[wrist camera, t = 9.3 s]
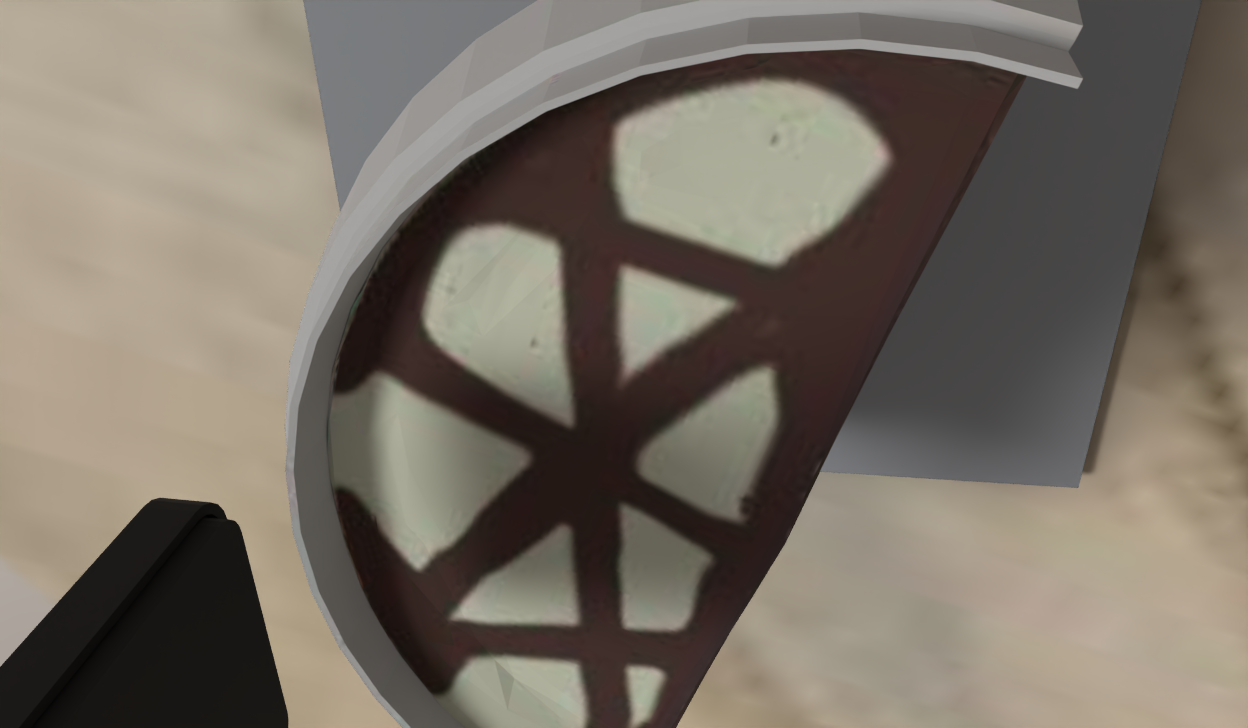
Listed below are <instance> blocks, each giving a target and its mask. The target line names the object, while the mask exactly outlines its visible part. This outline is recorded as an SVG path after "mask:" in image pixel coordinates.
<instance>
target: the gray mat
mask: <svg viewBox="0 0 1248 728" xmlns="http://www.w3.org/2000/svg"><path fill="white" fill-rule="evenodd" d="M303 1H304V7H305V13H306V18H307V24H308V30H309V36H310V41H311V47H312V53H313V58H314V64H315V70H316V76H317V81H318V87H319V93H320V98H321V104H322V110H323V116H324V121H325V127H326V133H327V138H328V144H329V150H330V156H331V161H332V167H333V173H334V178H335V184H336V190H337V196H338V201H339V207H340V212H341V210H342V207H343V205H344V203H345V201H346V199H347V197H348V195H349V193H350V191H351V189H352V187H353V185H354V183H355V181H356V179H357V177H358V175H359V173H360V171H361V169H362V167H363V165H364V163H365V161H366V159H367V158H368V157H369V155H370V154H371V153H372V151H373V150H374V149H375V147H376V146H377V145H378V143H379V142H380V141H381V139H382V138H383V137H384V135H385V134H386V133H387V131H388V130H389V129H390V127H391V126H392V125H393V123H394V122H395V121H396V119H397V118H398V117H399V115H400V114H401V113H402V111H403V110H404V109H405V107H406V106H407V105H408V103H409V102H410V101H411V99H412V98H413V97H414V96H415V95H416V94H417V93H418V92H419V91H420V90H421V89H423V88H424V87H425V86H426V85H427V84H428V83H429V82H430V81H431V80H432V79H433V78H435V77H436V76H437V75H438V74H439V73H440V72H441V71H442V70H443V69H444V68H445V67H447V66H448V65H449V64H450V63H451V62H452V61H453V60H454V59H455V58H456V57H457V56H459V55H460V54H461V53H462V52H463V51H464V50H465V49H466V48H467V47H468V46H469V45H471V44H472V43H473V42H474V41H475V40H476V39H477V38H479V37H480V36H482V35H483V34H485V33H486V32H488V31H490V30H491V29H493V28H494V27H496V26H497V25H499V24H501V23H502V22H504V21H505V20H507V19H509V18H510V17H512V16H513V15H515V14H516V13H518V12H520V11H521V10H523V9H524V8H526V7H527V6H529V5H531V4H532V3H534V2H535V1H537V0H303ZM1077 1H1078V5H1079V10H1080V14H1081V18H1082V23H1083V27H1082V29H1081V31H1080V33H1079V34H1078V36H1077V38H1076V40H1075V42H1074V43H1073V45H1072V46H1071V48H1070V50H1069V51H1068V52H1069V54H1070V56H1071V58H1072V59H1073V61H1074V63H1075V65H1076V67H1077V68H1078V70H1079V72H1080V74H1081V76H1082V77H1083V80H1082V82H1081V83H1080V85H1079V87H1078V89H1076V88H1072V87H1069V86H1065V85H1061V84H1057V83H1053V82H1050V81H1046V80H1042V79H1038V78H1035V77H1031V76H1027V77H1026V79H1025V81H1024V83H1023V85H1022V86H1021V88H1020V90H1019V92H1018V94H1017V96H1016V98H1015V100H1014V102H1013V103H1012V105H1011V107H1010V109H1009V111H1008V113H1007V115H1006V117H1005V119H1004V120H1003V122H1002V124H1001V126H1000V128H999V130H998V132H997V134H996V136H995V137H994V139H993V141H992V143H991V145H990V147H989V149H988V151H987V152H986V154H985V156H984V158H983V160H982V162H981V164H980V166H979V168H978V169H977V171H976V173H975V175H974V177H973V179H972V181H971V183H970V185H969V186H968V188H967V190H966V192H965V194H964V196H963V198H962V200H961V201H960V203H959V205H958V207H957V209H956V211H955V213H954V214H953V216H952V218H951V220H950V222H949V224H948V226H947V228H946V229H945V231H944V233H943V235H942V237H941V239H940V241H939V242H938V244H937V246H936V248H935V250H934V252H933V254H932V256H931V257H930V259H929V261H928V263H927V265H926V267H925V269H924V270H923V272H922V274H921V276H920V278H919V280H918V282H917V283H916V285H915V287H914V289H913V291H912V293H911V295H910V297H909V298H908V300H907V302H906V304H905V306H904V308H903V310H902V311H901V313H900V315H899V317H898V319H897V321H896V323H895V325H894V326H893V328H892V330H891V332H890V334H889V336H888V338H887V340H886V342H885V344H884V346H883V347H882V349H881V351H880V353H879V355H878V357H877V359H876V361H875V363H874V365H873V367H872V369H871V371H870V373H869V375H868V377H867V379H866V381H865V383H864V385H863V387H862V389H861V391H860V393H859V395H858V397H857V398H856V400H855V402H854V404H853V406H852V408H851V410H850V412H849V414H848V416H847V418H846V420H845V422H844V424H843V426H842V428H841V430H840V432H839V434H838V436H837V438H836V440H835V442H834V444H833V446H832V448H831V450H830V452H829V454H828V456H827V458H826V460H825V462H824V464H823V466H822V468H821V470H820V472H834V473H850V474H865V475H881V476H897V477H913V478H929V479H945V480H961V481H976V482H992V483H1008V484H1024V485H1040V486H1056V487H1072V488H1078V487H1079V483H1080V479H1081V475H1082V471H1083V467H1084V463H1085V459H1086V455H1087V451H1088V447H1089V443H1090V439H1091V435H1092V432H1093V428H1094V424H1095V420H1096V416H1097V412H1098V408H1099V404H1100V400H1101V396H1102V392H1103V388H1104V384H1105V380H1106V376H1107V372H1108V368H1109V364H1110V360H1111V356H1112V352H1113V348H1114V345H1115V341H1116V337H1117V333H1118V329H1119V325H1120V321H1121V317H1122V313H1123V309H1124V305H1125V301H1126V297H1127V293H1128V289H1129V285H1130V281H1131V277H1132V273H1133V269H1134V265H1135V261H1136V258H1137V254H1138V250H1139V246H1140V242H1141V238H1142V234H1143V230H1144V226H1145V222H1146V218H1147V214H1148V210H1149V206H1150V202H1151V198H1152V194H1153V190H1154V186H1155V182H1156V178H1157V174H1158V171H1159V167H1160V163H1161V159H1162V155H1163V151H1164V147H1165V143H1166V139H1167V135H1168V131H1169V127H1170V123H1171V119H1172V115H1173V111H1174V107H1175V103H1176V99H1177V95H1178V91H1179V87H1180V84H1181V80H1182V76H1183V72H1184V68H1185V64H1186V60H1187V56H1188V52H1189V48H1190V44H1191V40H1192V36H1193V32H1194V28H1195V24H1196V20H1197V16H1198V12H1199V8H1200V4H1201V0H1077Z"/></svg>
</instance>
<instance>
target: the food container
mask: <svg viewBox="0 0 1248 728" xmlns="http://www.w3.org/2000/svg"><path fill="white" fill-rule="evenodd" d="M1082 27H1083V23H1082V18H1081V14H1080V10H1079V5H1078V1H1077V0H537V1H535V2H534V3H532V4H531V5H529V6H527V7H526V8H524V9H523V10H521V11H520V12H518V13H516V14H515V15H513V16H512V17H510V18H509V19H507V20H505V21H504V22H502V23H501V24H499V25H497V26H496V27H494V28H493V29H491V30H490V31H488V32H486V33H485V34H483V35H482V36H480V37H479V38H477V39H476V40H475V41H474V42H473V43H472V44H471V45H469V46H468V47H467V48H466V49H465V50H464V51H463V52H462V53H461V54H460V55H459V56H457V57H456V58H455V59H454V60H453V61H452V62H451V63H450V64H449V65H448V66H447V67H445V68H444V69H443V70H442V71H441V72H440V73H439V74H438V75H437V76H436V77H435V78H433V79H432V80H431V81H430V82H429V83H428V84H427V85H426V86H425V87H424V88H423V89H421V90H420V91H419V92H418V93H417V94H416V95H415V96H414V97H413V98H412V99H411V101H410V102H409V103H408V105H407V106H406V107H405V109H404V110H403V111H402V113H401V114H400V115H399V117H398V118H397V119H396V121H395V122H394V123H393V125H392V126H391V127H390V129H389V130H388V131H387V133H386V134H385V135H384V137H383V138H382V139H381V141H380V142H379V143H378V145H377V146H376V147H375V149H374V150H373V151H372V153H371V154H370V155H369V157H368V158H367V159H366V161H365V163H364V165H363V167H362V169H361V171H360V173H359V175H358V177H357V179H356V181H355V183H354V185H353V187H352V189H351V191H350V193H349V195H348V197H347V199H346V201H345V203H344V205H343V207H342V210H341V212H340V214H339V216H338V218H337V220H336V222H335V224H334V226H333V228H332V231H331V233H330V236H329V239H328V241H327V244H326V247H325V250H324V252H323V255H322V258H321V260H320V263H319V266H318V269H317V271H316V274H315V277H314V279H313V282H312V285H311V288H310V290H309V293H308V297H307V300H306V304H305V308H304V311H303V315H302V319H301V322H300V326H299V329H298V333H297V337H296V340H295V344H294V348H293V351H292V355H291V358H290V364H289V378H288V391H287V405H286V419H285V434H286V443H287V456H286V470H285V471H286V479H287V488H288V496H289V504H290V512H291V520H292V529H293V535H294V538H295V541H296V544H297V548H298V551H299V554H300V557H301V560H302V564H303V567H304V570H305V573H306V577H307V580H308V583H309V586H310V589H311V593H312V595H313V597H314V599H315V601H316V603H317V605H318V607H319V609H320V611H321V613H322V614H323V616H324V618H325V620H326V622H327V624H328V626H329V628H330V630H331V632H332V634H333V636H334V638H335V640H336V642H337V644H338V646H339V648H340V650H341V651H342V652H343V654H344V655H345V657H346V658H347V659H348V661H349V662H350V664H351V665H352V666H353V668H354V669H355V671H356V672H357V674H358V675H359V676H360V678H361V679H362V681H363V682H364V683H365V685H366V686H367V688H368V689H369V690H370V692H371V693H372V695H373V696H374V697H375V699H376V700H377V701H378V702H379V703H380V704H381V705H382V706H383V707H384V708H385V709H386V710H387V712H388V713H389V714H390V715H391V716H392V717H393V718H394V719H395V720H396V721H397V722H398V723H399V724H400V725H401V726H402V728H676V727H677V725H678V723H679V721H680V719H681V718H682V716H683V714H684V712H685V710H686V709H687V707H688V705H689V703H690V701H691V700H692V698H693V696H694V694H695V693H696V691H697V689H698V687H699V685H700V684H701V682H702V680H703V678H704V676H705V675H706V673H707V671H708V669H709V668H710V666H711V664H712V663H713V661H714V659H715V657H716V656H717V654H718V652H719V651H720V649H721V647H722V645H723V644H724V642H725V640H726V638H727V637H728V635H729V633H730V632H731V630H732V628H733V627H734V625H735V623H736V622H737V620H738V619H739V617H740V616H741V614H742V613H743V611H744V609H745V608H746V606H747V605H748V603H749V602H750V600H751V598H752V597H753V595H754V593H755V592H756V590H757V589H758V587H759V585H760V584H761V582H762V580H763V579H764V577H765V576H766V574H767V572H768V571H769V569H770V567H771V566H772V564H773V562H774V561H775V559H776V558H777V556H778V554H779V553H780V551H781V549H782V548H783V546H784V545H785V543H786V541H787V539H788V537H789V535H790V532H791V530H792V528H793V526H794V524H795V522H796V520H797V518H798V516H799V514H800V512H801V510H802V508H803V506H804V504H805V501H806V499H807V497H808V495H809V493H810V491H811V489H812V487H813V485H814V483H815V481H816V479H817V477H818V475H819V473H820V470H821V468H822V466H823V464H824V462H825V460H826V458H827V456H828V454H829V452H830V450H831V448H832V446H833V444H834V442H835V440H836V438H837V436H838V434H839V432H840V430H841V428H842V426H843V424H844V422H845V420H846V418H847V416H848V414H849V412H850V410H851V408H852V406H853V404H854V402H855V400H856V398H857V397H858V395H859V393H860V391H861V389H862V387H863V385H864V383H865V381H866V379H867V377H868V375H869V373H870V371H871V369H872V367H873V365H874V363H875V361H876V359H877V357H878V355H879V353H880V351H881V349H882V347H883V346H884V344H885V342H886V340H887V338H888V336H889V334H890V332H891V330H892V328H893V326H894V325H895V323H896V321H897V319H898V317H899V315H900V313H901V311H902V310H903V308H904V306H905V304H906V302H907V300H908V298H909V297H910V295H911V293H912V291H913V289H914V287H915V285H916V283H917V282H918V280H919V278H920V276H921V274H922V272H923V270H924V269H925V267H926V265H927V263H928V261H929V259H930V257H931V256H932V254H933V252H934V250H935V248H936V246H937V244H938V242H939V241H940V239H941V237H942V235H943V233H944V231H945V229H946V228H947V226H948V224H949V222H950V220H951V218H952V216H953V214H954V213H955V211H956V209H957V207H958V205H959V203H960V201H961V200H962V198H963V196H964V194H965V192H966V190H967V188H968V186H969V185H970V183H971V181H972V179H973V177H974V175H975V173H976V171H977V169H978V168H979V166H980V164H981V162H982V160H983V158H984V156H985V154H986V152H987V151H988V149H989V147H990V145H991V143H992V141H993V139H994V137H995V136H996V134H997V132H998V130H999V128H1000V126H1001V124H1002V122H1003V120H1004V119H1005V117H1006V115H1007V113H1008V111H1009V109H1010V107H1011V105H1012V103H1013V102H1014V100H1015V98H1016V96H1017V94H1018V92H1019V90H1020V88H1021V86H1022V85H1023V83H1024V81H1025V79H1026V77H1027V76H1031V77H1035V78H1038V79H1042V80H1046V81H1050V82H1053V83H1057V84H1061V85H1065V86H1069V87H1072V88H1076V89H1078V87H1079V85H1080V83H1081V82H1082V80H1083V77H1082V76H1081V74H1080V72H1079V70H1078V68H1077V67H1076V65H1075V63H1074V61H1073V59H1072V58H1071V56H1070V54H1069V52H1068V51H1069V50H1070V48H1071V46H1072V45H1073V43H1074V42H1075V40H1076V38H1077V36H1078V34H1079V33H1080V31H1081V29H1082Z"/></svg>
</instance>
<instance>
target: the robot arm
mask: <svg viewBox="0 0 1248 728" xmlns="http://www.w3.org/2000/svg"><path fill="white" fill-rule="evenodd" d="M0 728H288V713H287V709H286V705H285V701H284V697H283V693H282V689H281V685H280V681H279V677H278V673H277V669H276V665H275V661H274V657H273V653H272V650H271V646H270V642H269V638H268V634H267V630H266V626H265V622H264V618H263V614H262V610H261V606H260V602H259V598H258V594H257V591H256V587H255V583H254V579H253V575H252V571H251V567H250V563H249V559H248V555H247V551H246V547H245V543H244V539H243V536H242V532H241V529H240V527H239V525H238V524H237V523H236V522H235V521H233V520H227V517H226V515H225V513H224V510H223V509H222V508H221V507H220V506H219V505H218V504H214V503H210V502H199V501H189V500H178V499H168V498H157V499H154V500H151V501H150V502H149V503H148V504H146V505H145V506H144V507H143V508H142V509H141V510H140V511H139V513H138V514H137V515H136V516H135V517H134V518H133V519H132V520H131V521H130V523H129V524H128V525H127V526H126V527H125V528H124V529H123V530H122V532H121V533H120V534H119V535H118V536H117V537H116V538H115V539H114V540H113V542H112V543H111V544H110V545H109V546H108V547H107V548H106V549H105V550H104V552H103V553H102V554H101V555H100V556H99V557H98V558H97V559H96V561H95V562H94V563H93V564H92V565H91V566H90V567H89V568H88V569H87V571H86V572H85V573H84V574H83V575H82V576H81V577H80V578H79V580H78V581H77V582H76V583H75V584H74V585H73V586H72V587H71V588H70V590H69V591H68V592H67V593H66V594H65V595H64V596H63V597H62V599H61V600H60V601H59V602H58V603H57V604H56V605H55V606H54V607H53V609H52V610H51V611H50V612H49V613H48V614H47V615H46V617H45V618H44V619H43V620H42V621H41V622H40V623H39V624H38V626H36V628H35V629H34V630H33V631H32V632H31V633H30V634H29V635H28V637H27V638H26V639H25V640H24V641H23V642H22V643H21V644H20V646H19V647H18V648H17V649H16V650H15V651H14V652H13V653H12V654H11V656H10V657H9V658H8V659H7V660H6V661H5V662H4V663H3V664H2V666H1V667H0Z"/></svg>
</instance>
